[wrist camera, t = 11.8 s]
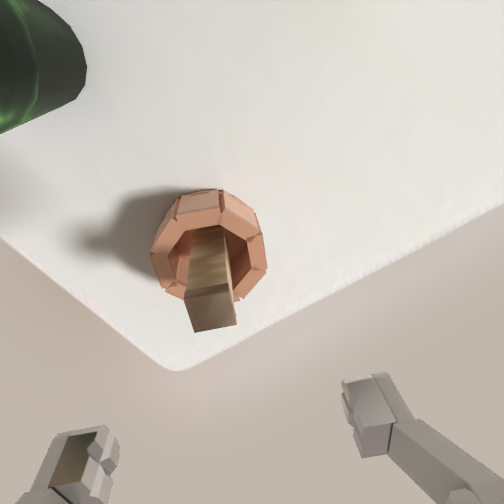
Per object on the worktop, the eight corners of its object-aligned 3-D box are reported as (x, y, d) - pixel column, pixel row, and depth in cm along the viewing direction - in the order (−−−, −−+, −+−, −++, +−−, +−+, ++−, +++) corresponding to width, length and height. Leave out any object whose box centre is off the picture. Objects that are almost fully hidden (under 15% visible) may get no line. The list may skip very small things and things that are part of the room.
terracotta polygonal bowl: (251, 181, 29) (258, 199, 24) (264, 268, 34) (272, 295, 30) (146, 200, 28) (135, 221, 24) (175, 284, 34) (171, 314, 29)
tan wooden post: (223, 223, 30) (229, 291, 20) (229, 250, 31) (236, 324, 22) (192, 229, 30) (183, 299, 20) (199, 255, 31) (194, 332, 22)
